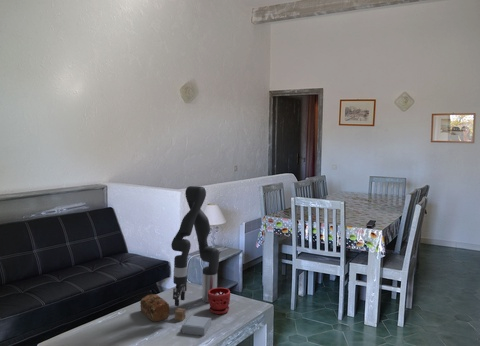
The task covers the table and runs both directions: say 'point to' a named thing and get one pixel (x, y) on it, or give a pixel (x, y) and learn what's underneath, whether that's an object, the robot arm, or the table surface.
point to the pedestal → (196, 325)
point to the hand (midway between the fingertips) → (179, 302)
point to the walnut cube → (180, 314)
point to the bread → (155, 307)
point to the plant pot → (219, 300)
